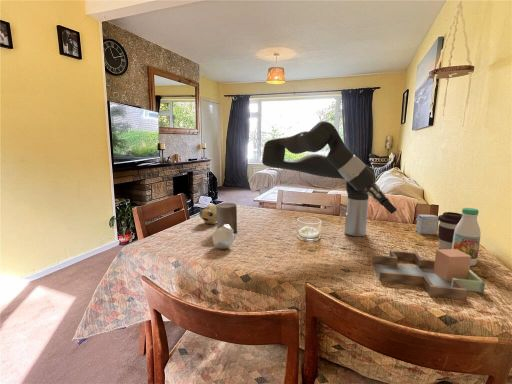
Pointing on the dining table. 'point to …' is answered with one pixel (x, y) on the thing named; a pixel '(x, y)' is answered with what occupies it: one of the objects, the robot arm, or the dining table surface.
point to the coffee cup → (447, 228)
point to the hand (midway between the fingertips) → (393, 211)
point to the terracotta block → (452, 264)
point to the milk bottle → (468, 234)
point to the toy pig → (209, 214)
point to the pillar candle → (227, 215)
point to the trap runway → (417, 275)
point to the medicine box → (427, 224)
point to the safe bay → (472, 282)
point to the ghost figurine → (223, 237)
